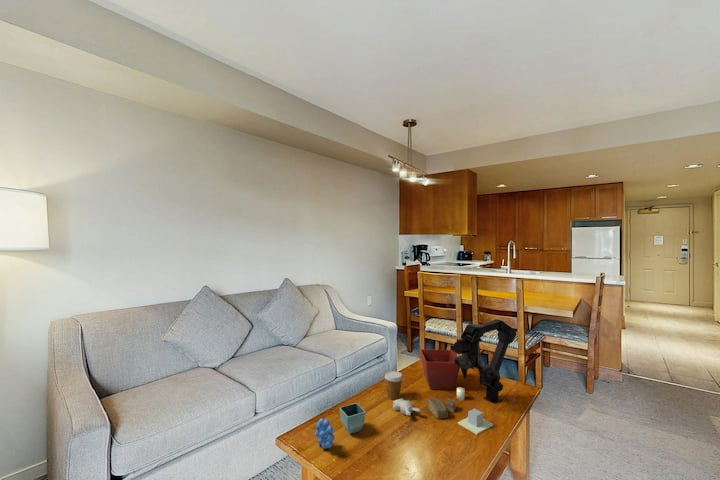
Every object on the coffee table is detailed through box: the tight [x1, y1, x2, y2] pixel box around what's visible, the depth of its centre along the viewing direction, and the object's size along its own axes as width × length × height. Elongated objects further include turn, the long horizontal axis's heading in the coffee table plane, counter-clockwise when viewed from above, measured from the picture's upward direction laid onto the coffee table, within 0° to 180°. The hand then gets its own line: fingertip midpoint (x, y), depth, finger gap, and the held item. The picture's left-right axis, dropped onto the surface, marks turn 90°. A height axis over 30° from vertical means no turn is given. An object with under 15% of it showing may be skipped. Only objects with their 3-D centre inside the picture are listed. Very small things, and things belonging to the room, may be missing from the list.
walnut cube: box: [444, 398, 457, 413], centre depth 159 cm, size 4×4×4 cm
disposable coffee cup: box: [384, 370, 404, 401], centre depth 171 cm, size 10×10×12 cm
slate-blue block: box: [467, 408, 484, 427], centre depth 147 cm, size 4×4×5 cm
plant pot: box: [420, 349, 461, 391], centre depth 186 cm, size 19×19×17 cm
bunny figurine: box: [392, 397, 422, 417], centre depth 157 cm, size 10×5×15 cm
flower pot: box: [339, 402, 366, 435], centre depth 142 cm, size 9×9×9 cm
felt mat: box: [457, 416, 494, 435], centre depth 147 cm, size 12×10×1 cm
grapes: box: [314, 417, 336, 450], centre depth 130 cm, size 12×7×12 cm, turn 41°
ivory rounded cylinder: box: [456, 386, 466, 401], centre depth 170 cm, size 4×4×5 cm
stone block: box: [426, 397, 449, 420], centre depth 156 cm, size 6×12×5 cm, turn 15°
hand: (472, 381), depth 163 cm, fingers open, 9 cm apart
